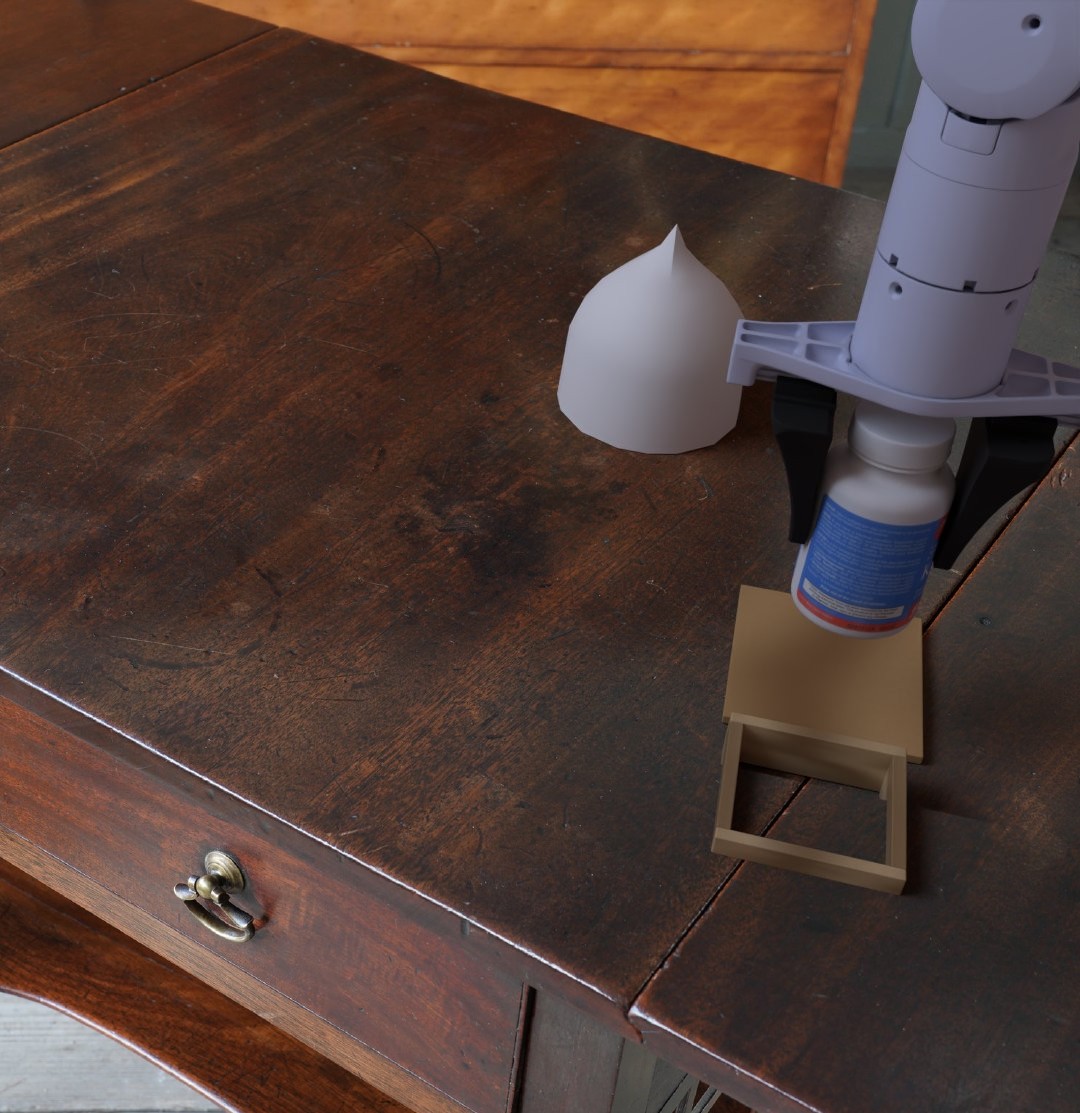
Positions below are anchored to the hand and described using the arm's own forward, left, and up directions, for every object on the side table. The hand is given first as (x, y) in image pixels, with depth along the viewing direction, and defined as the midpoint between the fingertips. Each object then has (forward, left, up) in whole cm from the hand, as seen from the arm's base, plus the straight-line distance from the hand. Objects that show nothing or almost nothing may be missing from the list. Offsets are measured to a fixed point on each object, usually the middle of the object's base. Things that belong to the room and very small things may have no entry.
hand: (869, 542), depth 63 cm
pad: (0, -3, -10) cm, 11 cm away
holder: (0, +8, -10) cm, 13 cm away
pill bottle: (0, 0, -4) cm, 4 cm away
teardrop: (+11, -24, -11) cm, 29 cm away
